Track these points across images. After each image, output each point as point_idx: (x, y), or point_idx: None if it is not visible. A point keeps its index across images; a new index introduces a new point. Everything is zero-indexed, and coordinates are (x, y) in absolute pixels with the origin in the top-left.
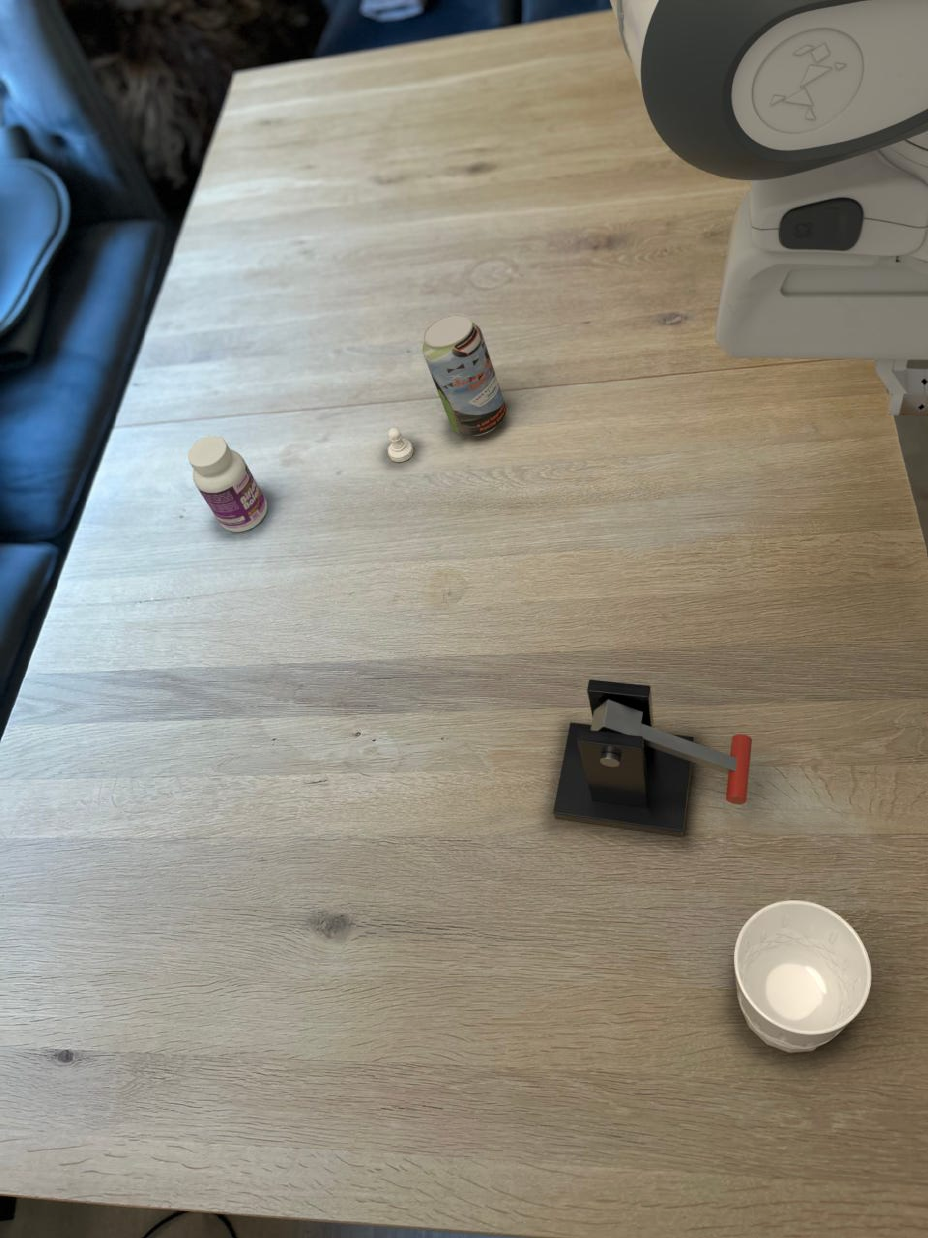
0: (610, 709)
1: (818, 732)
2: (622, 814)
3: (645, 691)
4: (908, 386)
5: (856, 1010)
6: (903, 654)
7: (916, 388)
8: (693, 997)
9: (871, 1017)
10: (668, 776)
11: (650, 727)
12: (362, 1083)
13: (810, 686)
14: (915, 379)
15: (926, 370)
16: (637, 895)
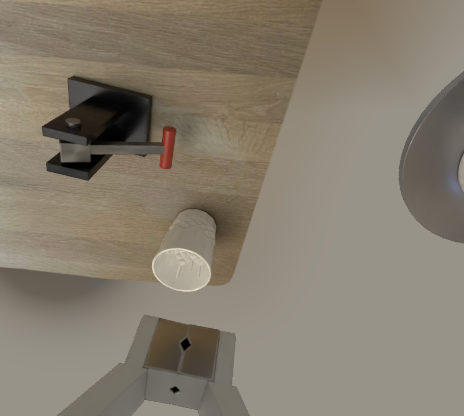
0: (63, 149)
1: (229, 96)
2: None
3: (84, 141)
4: (148, 389)
5: (202, 286)
6: (298, 39)
7: (160, 395)
8: (155, 221)
9: (227, 233)
10: (135, 124)
11: (99, 146)
12: (24, 237)
13: (229, 60)
14: (160, 385)
15: (181, 376)
16: (126, 179)
